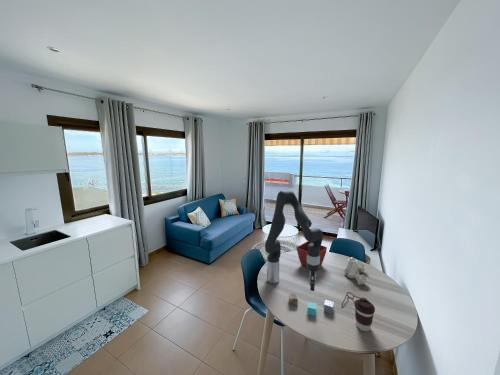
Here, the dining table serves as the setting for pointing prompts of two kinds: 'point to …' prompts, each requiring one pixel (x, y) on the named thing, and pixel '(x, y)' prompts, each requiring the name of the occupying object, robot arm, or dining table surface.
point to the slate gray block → (328, 306)
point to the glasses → (351, 298)
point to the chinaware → (355, 271)
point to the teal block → (311, 309)
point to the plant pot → (303, 253)
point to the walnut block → (293, 299)
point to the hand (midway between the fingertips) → (312, 286)
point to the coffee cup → (364, 314)
